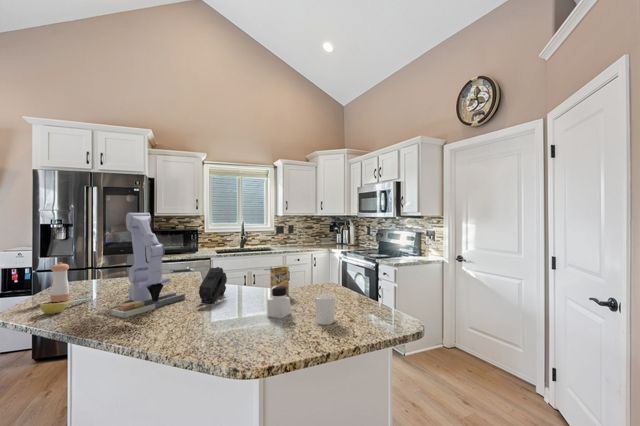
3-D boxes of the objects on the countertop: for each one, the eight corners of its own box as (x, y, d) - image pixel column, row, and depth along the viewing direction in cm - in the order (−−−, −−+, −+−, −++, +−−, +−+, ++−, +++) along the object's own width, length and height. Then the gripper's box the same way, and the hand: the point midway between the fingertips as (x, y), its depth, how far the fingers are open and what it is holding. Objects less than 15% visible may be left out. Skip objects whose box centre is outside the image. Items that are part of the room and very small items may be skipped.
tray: (110, 316, 127) (110, 309, 127) (141, 308, 139) (141, 301, 139) (124, 320, 123) (124, 312, 123) (155, 310, 135) (155, 303, 135)
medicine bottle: (290, 313, 129) (290, 285, 129) (281, 319, 123) (281, 289, 123) (276, 311, 132) (276, 284, 132) (266, 316, 126) (266, 287, 126)
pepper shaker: (61, 302, 148) (61, 263, 148) (46, 302, 148) (46, 263, 149) (73, 298, 156) (73, 261, 156) (59, 298, 156) (59, 261, 156)
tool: (230, 288, 163) (224, 264, 155) (215, 318, 145) (207, 293, 137) (218, 287, 164) (211, 263, 156) (202, 318, 146) (193, 293, 138)
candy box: (273, 298, 154) (273, 268, 154) (270, 296, 158) (270, 266, 158) (289, 295, 159) (288, 266, 159) (285, 293, 163) (285, 265, 163)
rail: (141, 307, 139) (141, 300, 139) (172, 299, 154) (172, 292, 154) (156, 310, 135) (156, 302, 135) (186, 301, 149) (186, 294, 149)
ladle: (32, 316, 127) (34, 301, 128) (81, 310, 153) (83, 298, 154) (53, 315, 127) (55, 300, 128) (99, 310, 153) (100, 298, 154)
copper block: (118, 314, 128) (118, 305, 128) (128, 311, 131) (128, 302, 131) (124, 316, 126) (124, 306, 126) (134, 313, 130) (134, 303, 130)
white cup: (320, 327, 114) (320, 300, 114) (311, 320, 121) (311, 295, 121) (338, 323, 118) (338, 297, 118) (328, 317, 125) (328, 293, 125)
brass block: (129, 312, 131) (129, 302, 131) (138, 309, 135) (138, 300, 135) (134, 313, 129) (134, 303, 129) (143, 310, 133) (143, 301, 133)
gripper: (145, 274, 132) (145, 306, 132) (174, 269, 145) (174, 297, 145) (135, 273, 135) (135, 303, 135) (164, 268, 148) (164, 296, 148)
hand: (155, 300), depth 140 cm, fingers closed
